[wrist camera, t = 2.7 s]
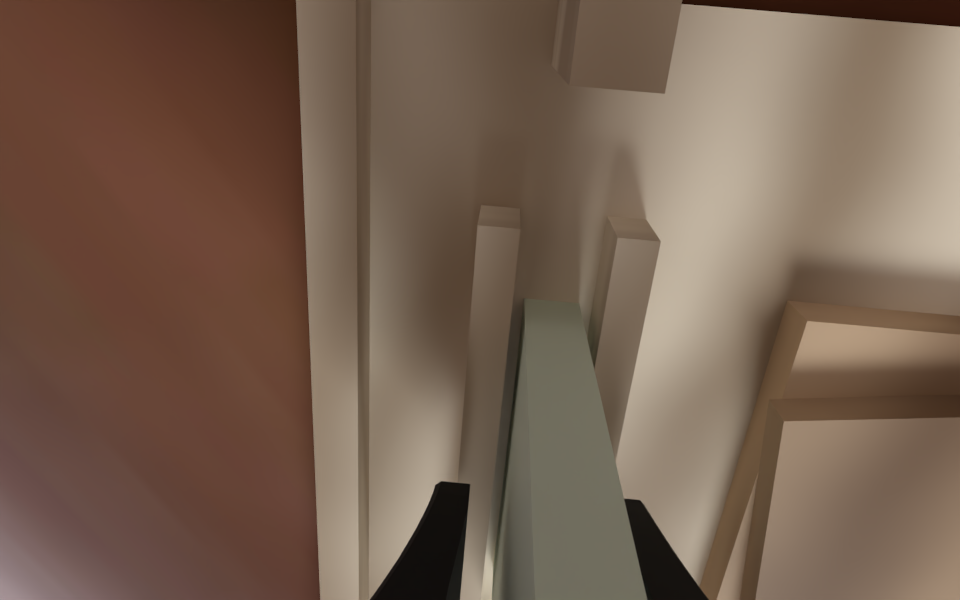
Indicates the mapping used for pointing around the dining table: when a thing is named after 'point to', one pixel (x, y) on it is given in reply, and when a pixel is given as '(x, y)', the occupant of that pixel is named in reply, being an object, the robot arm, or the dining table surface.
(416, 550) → the robot arm
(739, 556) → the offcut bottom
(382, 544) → the offcut rack
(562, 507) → the sheet
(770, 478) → the offcut top
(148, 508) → the dining table surface
